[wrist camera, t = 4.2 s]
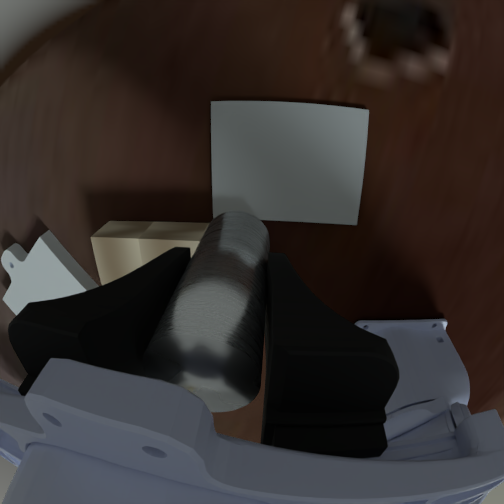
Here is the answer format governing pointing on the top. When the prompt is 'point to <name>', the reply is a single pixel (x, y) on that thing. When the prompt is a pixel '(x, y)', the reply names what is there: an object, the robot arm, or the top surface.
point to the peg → (217, 316)
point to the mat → (288, 160)
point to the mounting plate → (42, 273)
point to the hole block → (139, 244)
